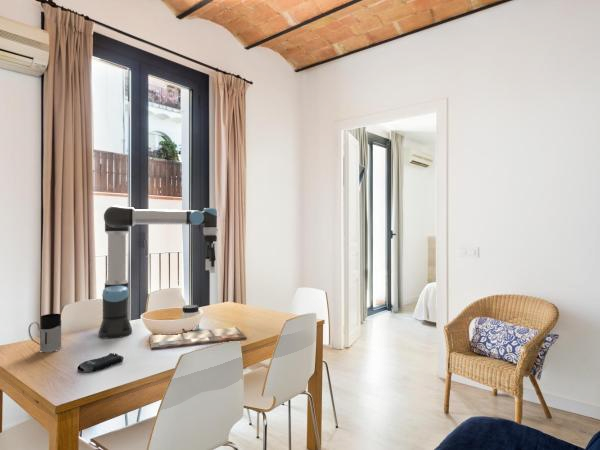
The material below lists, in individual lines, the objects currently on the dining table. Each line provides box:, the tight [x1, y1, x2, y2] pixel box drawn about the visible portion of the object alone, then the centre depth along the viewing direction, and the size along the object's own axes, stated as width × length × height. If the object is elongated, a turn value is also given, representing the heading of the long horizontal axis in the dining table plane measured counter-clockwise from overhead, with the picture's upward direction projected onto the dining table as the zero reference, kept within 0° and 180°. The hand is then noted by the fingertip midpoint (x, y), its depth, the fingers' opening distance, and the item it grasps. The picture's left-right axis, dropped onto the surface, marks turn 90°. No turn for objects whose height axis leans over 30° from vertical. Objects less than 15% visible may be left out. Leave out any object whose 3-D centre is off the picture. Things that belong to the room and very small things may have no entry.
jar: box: [181, 304, 200, 331], centre depth 208 cm, size 9×8×12 cm
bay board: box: [149, 326, 248, 351], centre depth 191 cm, size 43×20×1 cm, turn 113°
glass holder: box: [28, 313, 63, 353], centre depth 171 cm, size 9×14×15 cm, turn 160°
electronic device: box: [76, 352, 125, 374], centre depth 153 cm, size 9×6×15 cm
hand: (210, 271), depth 229 cm, fingers open, 13 cm apart
